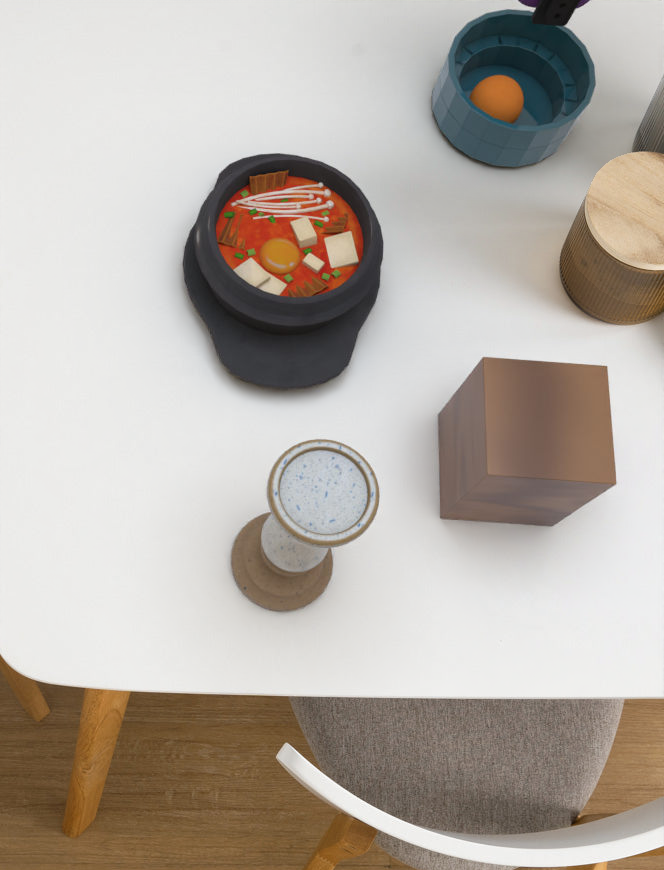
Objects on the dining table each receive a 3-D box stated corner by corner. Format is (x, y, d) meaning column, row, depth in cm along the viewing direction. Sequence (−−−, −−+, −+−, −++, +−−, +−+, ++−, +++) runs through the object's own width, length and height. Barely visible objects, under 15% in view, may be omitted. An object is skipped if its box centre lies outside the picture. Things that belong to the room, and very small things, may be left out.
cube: (546, 421, 89) (607, 365, 77) (552, 526, 86) (617, 484, 74) (437, 414, 88) (483, 356, 77) (440, 518, 85) (487, 474, 74)
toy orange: (528, 89, 96) (512, 54, 92) (532, 131, 95) (515, 98, 91) (477, 108, 99) (459, 76, 95) (479, 150, 98) (461, 119, 94)
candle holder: (234, 614, 82) (264, 556, 63) (226, 516, 85) (254, 431, 66) (336, 609, 83) (397, 550, 63) (325, 511, 85) (381, 426, 66)
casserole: (182, 163, 96) (186, 104, 88) (368, 168, 96) (389, 110, 88) (181, 395, 88) (185, 354, 80) (383, 399, 89) (408, 359, 81)
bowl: (564, 59, 101) (590, 15, 95) (572, 175, 97) (600, 136, 91) (429, 49, 101) (447, 4, 95) (431, 164, 96) (450, 124, 91)
